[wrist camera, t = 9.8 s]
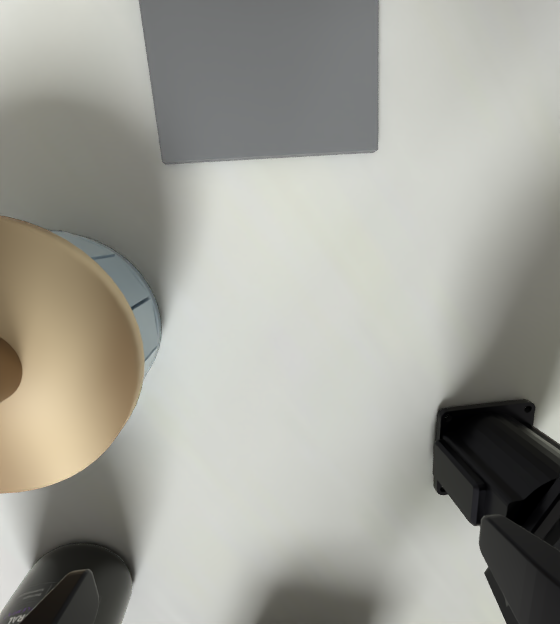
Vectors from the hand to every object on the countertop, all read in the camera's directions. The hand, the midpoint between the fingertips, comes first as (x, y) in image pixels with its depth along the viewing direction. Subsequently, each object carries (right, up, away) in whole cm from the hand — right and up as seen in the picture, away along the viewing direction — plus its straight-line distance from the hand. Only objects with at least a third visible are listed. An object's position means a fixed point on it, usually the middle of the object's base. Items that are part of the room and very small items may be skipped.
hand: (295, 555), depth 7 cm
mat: (-1, +19, +8) cm, 21 cm away
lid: (-12, +4, +6) cm, 14 cm away
